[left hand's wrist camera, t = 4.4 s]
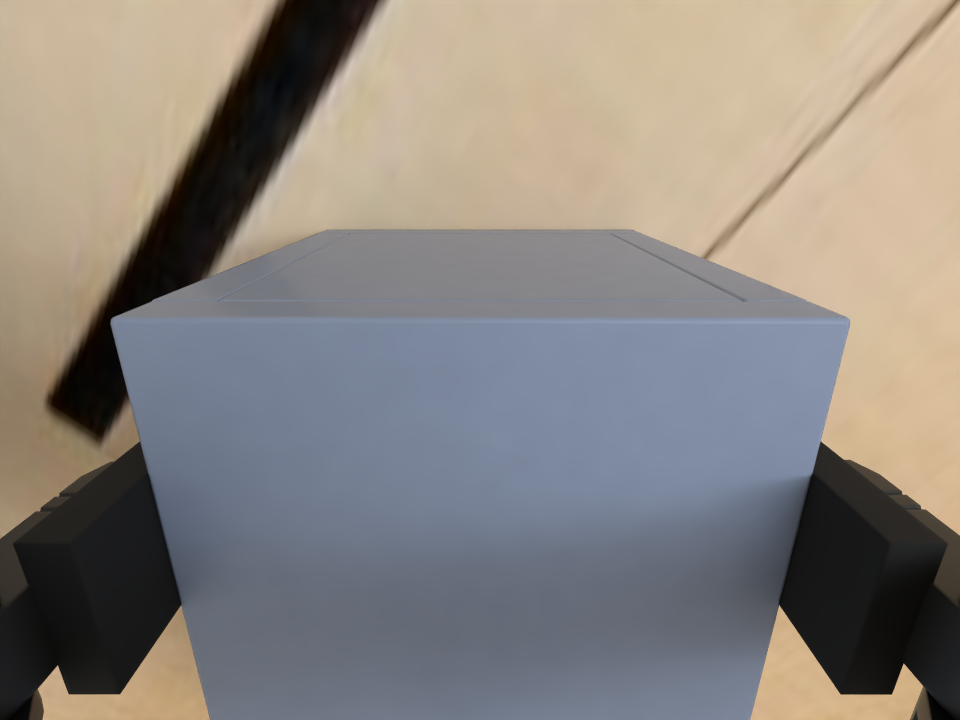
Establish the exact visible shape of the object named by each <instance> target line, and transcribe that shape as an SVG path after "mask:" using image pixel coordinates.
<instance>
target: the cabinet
mask: <svg viewBox="0 0 960 720" xmlns="http://www.w3.org/2000/svg"><path fill="white" fill-rule="evenodd" d="M849 326H850V320H849V318H847V317H845V316H843V315H840V314H838V313H835V312H833V311H830V310H828V309H825V308H823V307H820V306H818V305H815V304H813V303H811V302H807V301H806V300H804V299H802V298H799V297H797V296H794V295H792V294H789V293H787V292H785V291H782V290H780V289H777V288H775V287H772V286H770V285H767V284H765V283H762V282H760V281H757V280H755V279H752V278H750V277H747V276H745V275H743V274H740V273H738V272H735V271H733V270H730V269H728V268H725V267H723V266H720V265H718V264H715V263H713V262H710V261H708V260H705V259H703V258H701V257H698V256H696V255H693V254H691V253H688V252H686V251H683V250H681V249H678V248H676V247H673V246H671V245H668V244H666V243H663V242H661V241H659V240H656V239H654V238H651V237H649V236H646V235H644V234H641V233H639V232H636V231H634V230H326V231H323V232H321V233H318V234H315V235H313V236H310V237H308V238H305V239H303V240H300V241H298V242H295V243H293V244H291V245H288V246H286V247H283V248H281V249H278V250H276V251H273V252H271V253H268V254H266V255H263V256H261V257H258V258H256V259H253V260H251V261H249V262H246V263H244V264H241V265H239V266H236V267H234V268H231V269H229V270H226V271H224V272H221V273H219V274H216V275H214V276H211V277H209V278H206V279H204V280H202V281H199V282H197V283H194V284H192V285H189V286H187V287H184V288H182V289H179V290H177V291H174V292H172V293H169V294H167V295H164V296H162V297H160V298H157V299H155V300H152V302H150V303H148V304H145V305H143V306H140V307H138V308H135V309H133V310H130V311H128V312H126V313H123V314H121V315H118V316H116V317H114V318H112V319H111V327H112V331H113V335H114V339H115V343H116V347H117V351H118V355H119V359H120V363H121V367H122V371H123V375H124V379H125V383H126V387H127V391H128V395H129V399H130V403H131V407H132V411H133V415H134V419H135V423H136V427H137V431H138V435H139V439H140V443H141V447H142V451H143V455H144V459H145V462H146V466H147V470H148V474H149V478H150V482H151V486H152V490H153V494H154V498H155V502H156V506H157V510H158V514H159V518H160V522H161V526H162V530H163V534H164V538H165V542H166V546H167V550H168V554H169V558H170V562H171V566H172V570H173V574H174V578H175V582H176V586H177V590H178V594H179V598H180V602H181V606H182V610H183V614H184V617H185V621H186V625H187V629H188V633H189V637H190V641H191V645H192V649H193V653H194V657H195V661H196V665H197V669H198V673H199V677H200V681H201V685H202V689H203V693H204V697H205V701H206V705H207V709H208V713H209V717H210V720H750V718H751V714H752V710H753V706H754V702H755V698H756V694H757V691H758V687H759V683H760V679H761V675H762V671H763V667H764V663H765V659H766V655H767V651H768V647H769V643H770V639H771V635H772V631H773V627H774V623H775V619H776V615H777V611H778V607H779V603H780V600H781V596H782V592H783V588H784V584H785V580H786V576H787V572H788V568H789V564H790V560H791V556H792V552H793V548H794V544H795V540H796V536H797V532H798V528H799V524H800V520H801V516H802V512H803V508H804V505H805V501H806V497H807V493H808V489H809V485H810V481H811V477H812V473H813V469H814V465H815V461H816V457H817V453H818V449H819V445H820V441H821V437H822V433H823V429H824V425H825V421H826V417H827V413H828V410H829V406H830V402H831V398H832V394H833V390H834V386H835V382H836V378H837V374H838V370H839V366H840V362H841V358H842V354H843V350H844V346H845V342H846V338H847V334H848V330H849Z"/></svg>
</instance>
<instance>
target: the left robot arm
mask: <svg viewBox="0 0 960 720" xmlns="http://www.w3.org/2000/svg"><path fill="white" fill-rule="evenodd" d="M59 494H60V495H59V497H54V498H53V499H52V500H50V501H49V502H48V503H46V504H45V505H44V506H42V507H41V510H40V512H35V513H33V514H32V515H31V516H30V517H28V518H27V519H26V520H24V521H23V522H22V523H20V524H19V525H18V526H17V527H15V528H14V529H13V530H11V531H10V532H9V533H7V534H6V535H5V536H4V537H2V538H1V539H0V720H42V719H43V712H44V709H43V704H42V699H41V696H40V694H39V691H38V688H39V686H40V685H41V684H42V683H43V682H44V681H45V679H46V678H47V677H48V676H49V675H50V674H51V672H52V671H53V670H54V669H55V668H56V667H57V665H58V667H59V669H60V672H61V675H62V677H63V680H64V683H65V685H66V688H67V691H68V693H69V694H120V693H121V692H122V691H123V689H124V688H125V686H126V685H127V683H128V682H129V680H130V679H131V677H132V676H133V674H134V673H135V672H136V670H137V669H138V667H139V666H140V664H141V663H142V661H143V660H144V658H145V657H146V656H147V654H148V653H149V651H150V650H151V648H152V647H153V645H154V644H155V642H156V641H157V639H158V638H159V637H160V635H161V634H162V632H163V631H164V629H165V628H166V626H167V625H168V623H169V622H170V620H171V619H172V618H173V616H174V615H175V613H176V612H177V610H178V609H179V607H180V606H181V602H180V598H179V594H178V590H177V586H176V582H175V578H174V574H173V570H172V566H171V562H170V558H169V554H168V550H167V546H166V542H165V538H164V534H163V530H162V526H161V522H160V518H159V514H158V510H157V506H156V502H155V498H154V494H153V490H152V486H151V482H150V478H149V474H148V470H147V466H146V462H145V459H144V455H143V451H142V447H141V443H140V442H139V443H137V444H136V445H135V446H134V447H132V448H131V449H130V450H129V451H127V452H126V453H125V454H124V455H122V456H121V457H120V458H119V459H117V460H116V461H115V462H109V463H107V464H105V465H103V466H101V467H99V468H97V469H95V470H93V471H91V472H89V473H87V474H85V475H83V476H81V477H80V478H79V479H77V480H76V481H75V482H74V483H72V484H71V485H70V486H68V487H67V488H66V489H65V490H63V491H62V492H61V493H59ZM779 605H780V607H781V608H782V609H783V611H784V612H785V614H786V615H787V617H788V618H789V620H790V621H791V623H792V624H793V625H794V627H795V628H796V630H797V631H798V633H799V634H800V636H801V637H802V639H803V640H804V642H805V643H806V644H807V646H808V647H809V649H810V650H811V652H812V653H813V655H814V656H815V658H816V659H817V661H818V662H819V663H820V665H821V666H822V668H823V669H824V671H825V672H826V674H827V675H828V677H829V678H830V679H831V681H832V682H833V684H834V685H835V687H836V688H837V690H838V691H839V693H840V694H892V693H893V690H894V688H895V685H896V682H897V680H898V677H899V674H900V671H901V669H902V666H903V663H904V664H905V665H906V666H907V667H908V669H909V670H910V671H911V672H912V673H913V674H914V676H915V677H916V678H917V679H918V680H919V681H920V683H921V684H922V685H923V688H922V691H921V694H920V696H919V699H918V701H917V704H916V706H915V709H914V711H913V714H912V716H911V719H910V720H960V536H959V535H958V534H957V533H955V532H954V531H953V530H952V529H950V528H949V527H948V526H946V525H945V524H944V523H942V522H941V521H940V520H938V519H937V518H936V517H935V516H933V515H932V514H931V513H929V512H928V511H927V510H922V509H921V506H920V505H919V504H918V503H916V502H915V501H914V500H912V499H911V498H910V497H908V496H907V495H902V491H901V490H899V489H898V488H897V487H895V486H894V485H893V484H891V483H890V482H889V481H888V480H886V479H885V478H884V477H882V476H881V475H880V474H878V473H876V472H874V471H872V470H870V469H868V468H865V467H863V466H861V465H859V464H857V463H855V462H853V461H851V460H843V459H842V458H841V457H839V456H838V455H837V454H836V453H834V452H833V451H832V450H831V449H830V448H828V447H827V446H826V445H825V444H823V443H822V442H821V441H820V445H819V449H818V453H817V457H816V461H815V465H814V469H813V473H812V477H811V481H810V485H809V489H808V493H807V497H806V501H805V505H804V508H803V512H802V516H801V520H800V524H799V528H798V532H797V536H796V540H795V544H794V548H793V552H792V556H791V560H790V564H789V568H788V572H787V576H786V580H785V584H784V588H783V592H782V596H781V600H780V603H779Z"/></svg>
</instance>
